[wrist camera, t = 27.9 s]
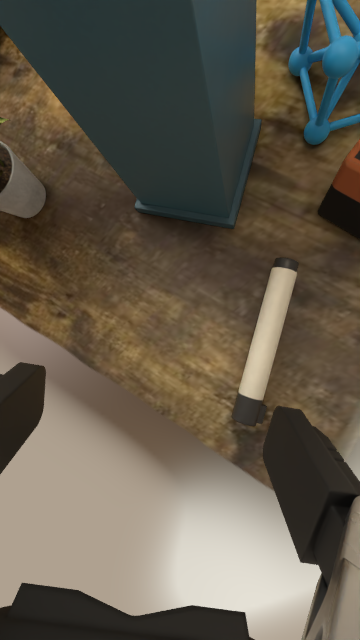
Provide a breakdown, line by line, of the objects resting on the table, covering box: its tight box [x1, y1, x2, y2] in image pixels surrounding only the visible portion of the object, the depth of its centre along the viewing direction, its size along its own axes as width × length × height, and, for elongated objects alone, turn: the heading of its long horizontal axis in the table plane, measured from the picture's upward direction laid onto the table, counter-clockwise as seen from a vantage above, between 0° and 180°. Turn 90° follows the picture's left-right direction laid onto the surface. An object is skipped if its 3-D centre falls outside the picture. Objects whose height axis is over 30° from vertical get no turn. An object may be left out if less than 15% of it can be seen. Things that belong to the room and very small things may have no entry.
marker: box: [232, 258, 299, 426], centre depth 29 cm, size 16×2×3 cm
